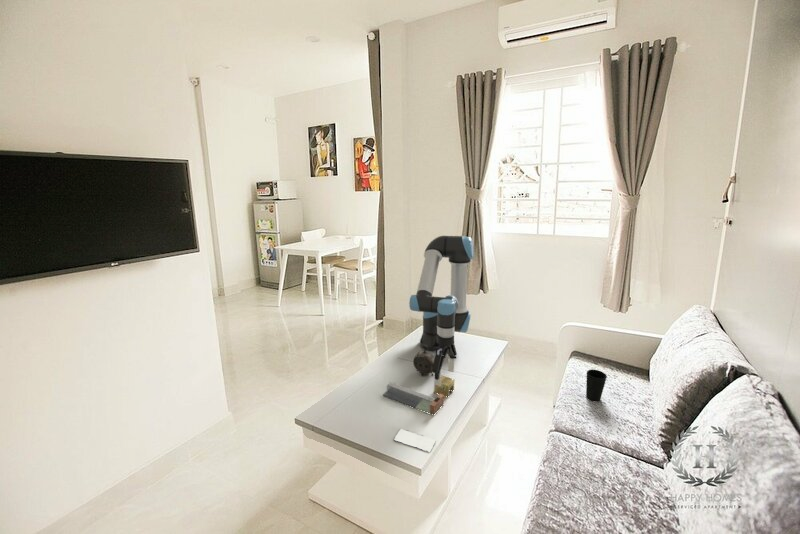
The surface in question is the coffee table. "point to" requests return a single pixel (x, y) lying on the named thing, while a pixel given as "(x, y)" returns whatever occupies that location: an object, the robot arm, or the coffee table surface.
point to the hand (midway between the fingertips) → (444, 377)
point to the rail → (414, 398)
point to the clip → (444, 386)
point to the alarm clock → (424, 361)
